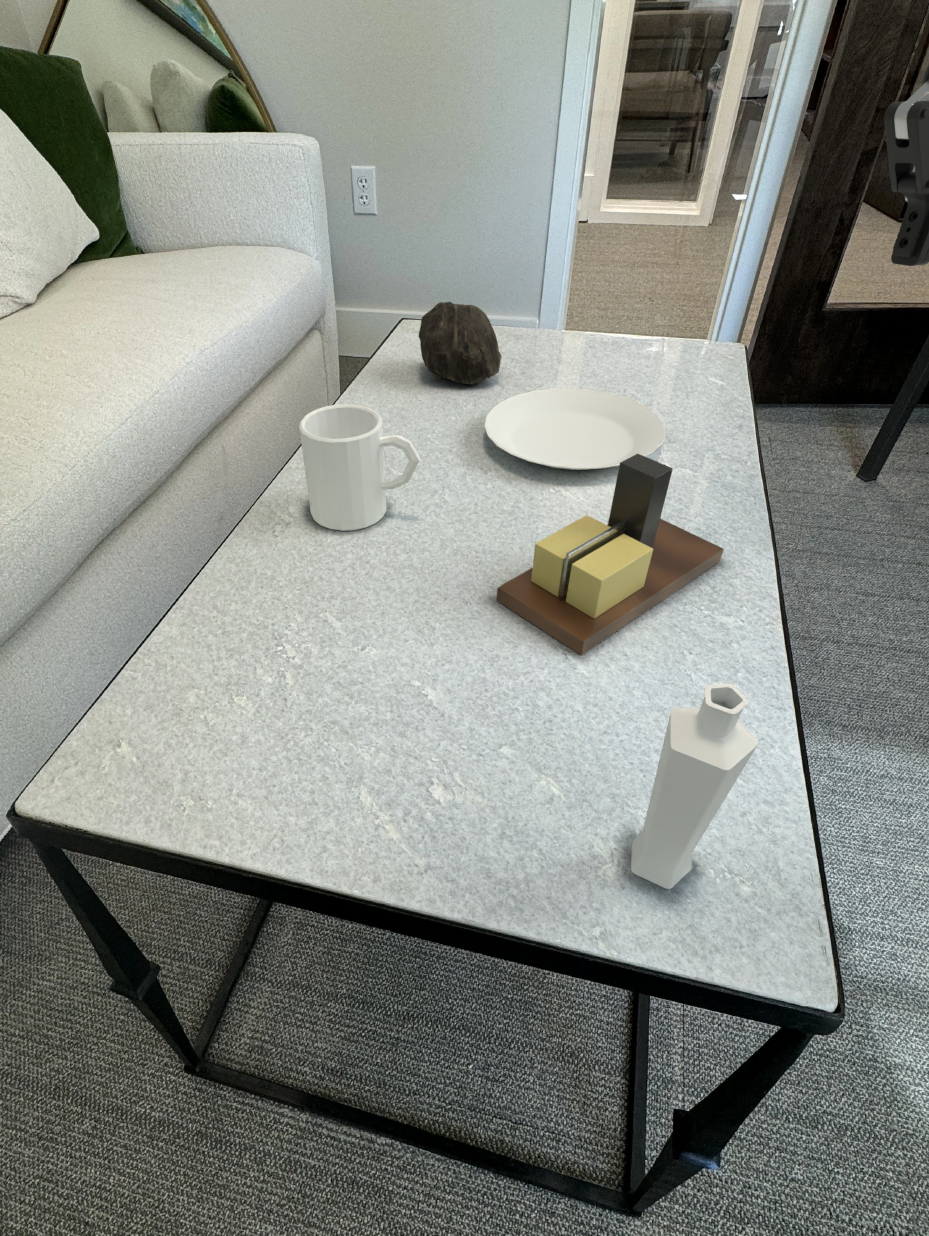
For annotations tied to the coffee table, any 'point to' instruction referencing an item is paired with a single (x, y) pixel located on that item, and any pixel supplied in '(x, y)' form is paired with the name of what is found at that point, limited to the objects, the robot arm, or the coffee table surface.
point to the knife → (629, 508)
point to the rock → (459, 343)
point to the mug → (349, 465)
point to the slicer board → (668, 571)
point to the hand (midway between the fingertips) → (909, 263)
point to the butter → (591, 567)
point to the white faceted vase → (692, 782)
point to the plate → (574, 428)
